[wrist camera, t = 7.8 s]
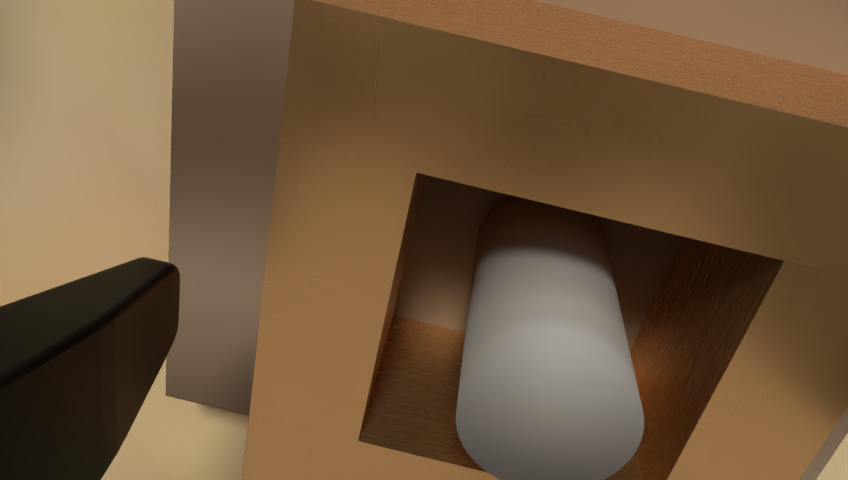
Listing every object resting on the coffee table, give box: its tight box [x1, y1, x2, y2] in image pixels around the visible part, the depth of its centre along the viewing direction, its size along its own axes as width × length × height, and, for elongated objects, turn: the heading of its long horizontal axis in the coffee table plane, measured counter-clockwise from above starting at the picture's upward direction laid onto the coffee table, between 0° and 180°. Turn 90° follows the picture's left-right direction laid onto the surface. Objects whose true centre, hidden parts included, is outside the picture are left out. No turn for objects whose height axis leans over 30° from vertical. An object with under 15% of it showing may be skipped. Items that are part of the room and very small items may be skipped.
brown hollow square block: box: [242, 0, 848, 480], centre depth 10 cm, size 7×7×3 cm
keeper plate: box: [166, 0, 848, 480], centre depth 10 cm, size 10×12×6 cm
